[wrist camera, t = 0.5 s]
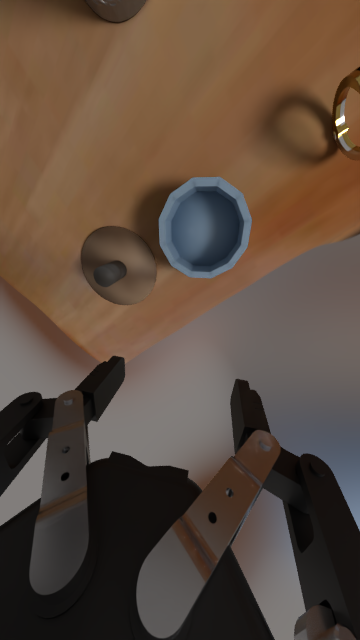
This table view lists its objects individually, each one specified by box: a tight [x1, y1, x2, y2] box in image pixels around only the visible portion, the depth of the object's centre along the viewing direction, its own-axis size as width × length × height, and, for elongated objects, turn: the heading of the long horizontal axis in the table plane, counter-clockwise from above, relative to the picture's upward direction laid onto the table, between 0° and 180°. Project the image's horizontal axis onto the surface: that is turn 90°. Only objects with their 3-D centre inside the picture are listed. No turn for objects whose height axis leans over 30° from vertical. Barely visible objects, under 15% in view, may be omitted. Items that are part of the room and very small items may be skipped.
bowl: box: [159, 177, 252, 278], centre depth 25 cm, size 11×11×5 cm
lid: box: [82, 226, 157, 305], centre depth 30 cm, size 13×13×6 cm
